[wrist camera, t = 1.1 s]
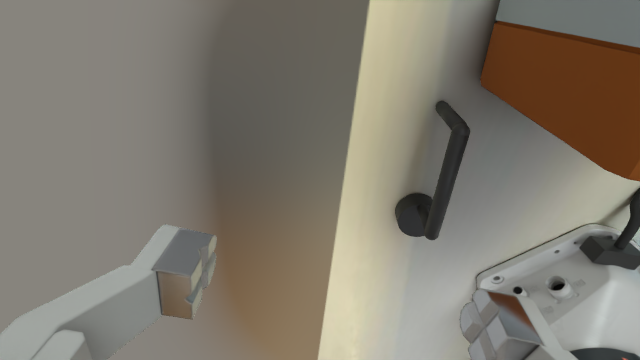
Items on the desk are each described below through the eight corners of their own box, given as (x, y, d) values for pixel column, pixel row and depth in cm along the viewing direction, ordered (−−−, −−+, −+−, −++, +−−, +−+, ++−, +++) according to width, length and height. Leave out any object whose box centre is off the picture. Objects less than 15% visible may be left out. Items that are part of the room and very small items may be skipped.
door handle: (430, 226, 39) (447, 268, 33) (392, 223, 39) (401, 265, 33) (466, 100, 30) (497, 127, 24) (417, 98, 31) (435, 124, 25)
